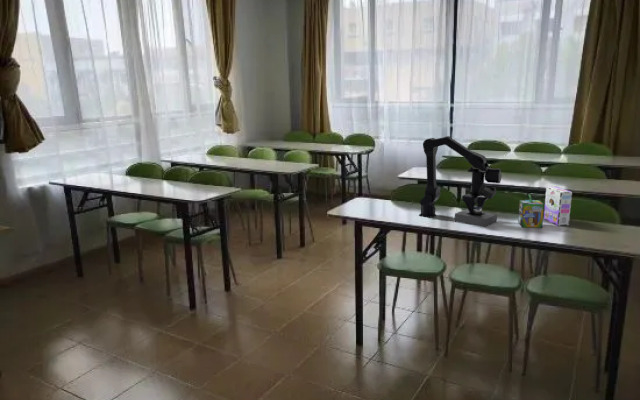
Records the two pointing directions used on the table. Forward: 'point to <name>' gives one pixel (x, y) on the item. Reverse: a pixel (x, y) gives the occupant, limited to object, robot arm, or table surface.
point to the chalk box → (530, 213)
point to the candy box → (557, 206)
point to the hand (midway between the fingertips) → (475, 212)
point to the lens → (477, 211)
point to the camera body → (476, 218)
